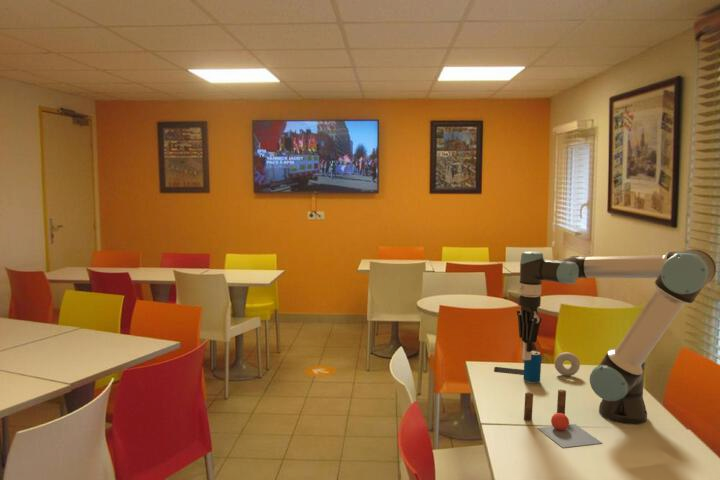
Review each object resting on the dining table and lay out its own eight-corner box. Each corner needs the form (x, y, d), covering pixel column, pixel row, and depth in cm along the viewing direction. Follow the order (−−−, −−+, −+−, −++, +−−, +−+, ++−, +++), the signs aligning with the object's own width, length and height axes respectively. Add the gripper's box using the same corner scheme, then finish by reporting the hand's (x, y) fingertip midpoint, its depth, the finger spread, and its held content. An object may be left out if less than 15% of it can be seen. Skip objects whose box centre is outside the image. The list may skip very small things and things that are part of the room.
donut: (578, 375, 240) (580, 352, 239) (579, 378, 237) (581, 354, 235) (553, 373, 242) (554, 350, 241) (554, 375, 239) (555, 352, 238)
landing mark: (602, 443, 178) (602, 442, 178) (562, 448, 175) (562, 447, 175) (574, 424, 192) (574, 424, 192) (537, 428, 188) (537, 427, 188)
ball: (561, 414, 191) (565, 431, 189) (546, 415, 190) (550, 432, 188) (569, 410, 187) (574, 428, 184) (554, 412, 185) (558, 429, 183)
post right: (566, 417, 197) (567, 392, 196) (559, 418, 197) (560, 392, 196) (561, 414, 200) (563, 389, 199) (555, 415, 199) (556, 389, 198)
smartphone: (528, 375, 239) (493, 371, 243) (528, 376, 239) (493, 373, 243) (528, 370, 245) (494, 366, 249) (528, 371, 246) (494, 367, 249)
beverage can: (540, 384, 228) (542, 355, 227) (523, 383, 230) (525, 354, 228) (539, 379, 235) (540, 350, 233) (522, 377, 236) (524, 349, 235)
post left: (533, 420, 194) (534, 394, 193) (526, 421, 193) (527, 395, 192) (529, 417, 197) (530, 392, 196) (522, 418, 196) (523, 392, 195)
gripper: (511, 291, 210) (508, 354, 213) (530, 299, 198) (526, 365, 200) (529, 291, 212) (526, 353, 215) (549, 298, 199) (545, 364, 202)
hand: (526, 359), depth 207 cm, fingers closed
